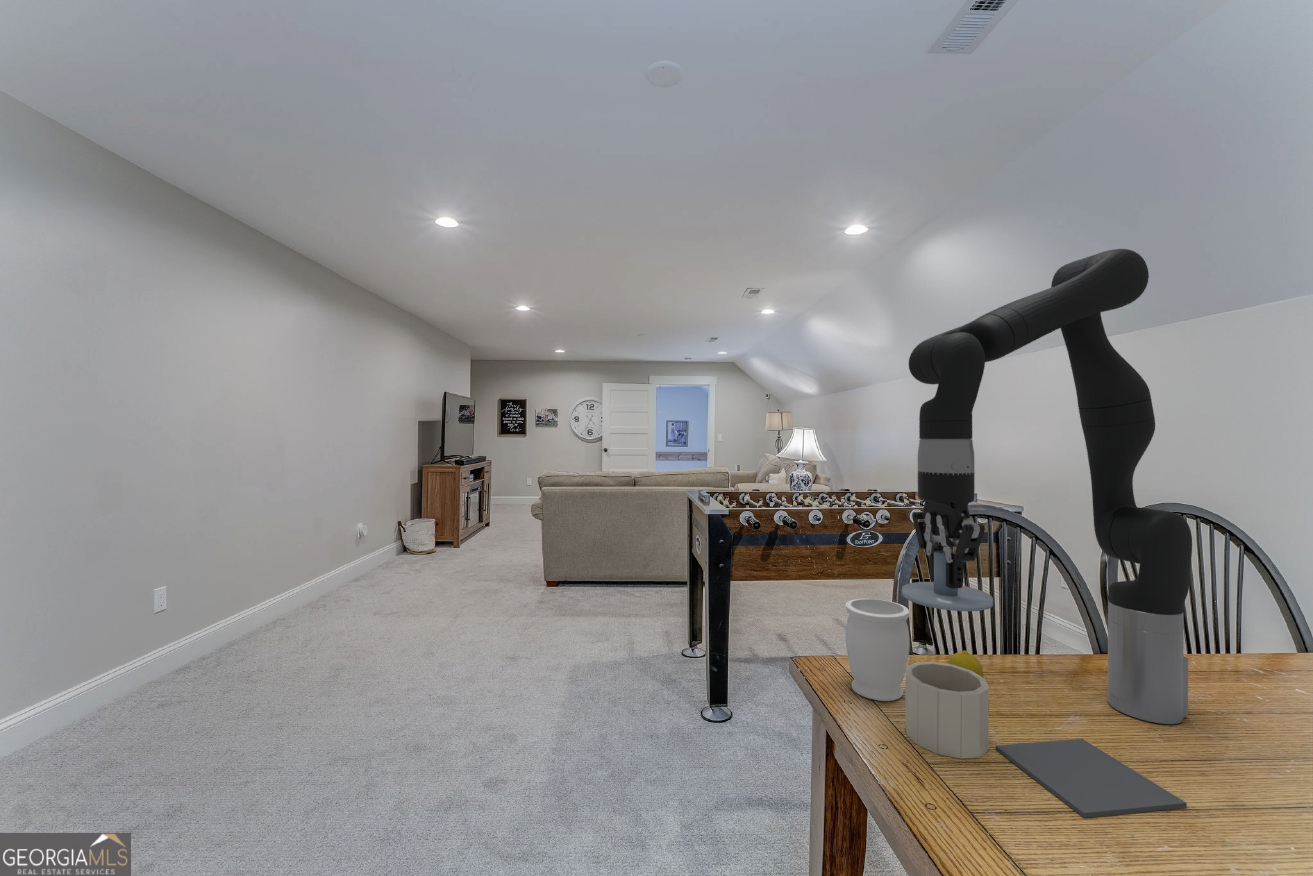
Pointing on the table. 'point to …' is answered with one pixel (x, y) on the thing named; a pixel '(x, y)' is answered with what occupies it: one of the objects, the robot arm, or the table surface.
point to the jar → (877, 647)
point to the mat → (1089, 778)
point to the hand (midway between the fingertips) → (945, 583)
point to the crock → (947, 709)
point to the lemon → (967, 662)
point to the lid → (946, 592)
